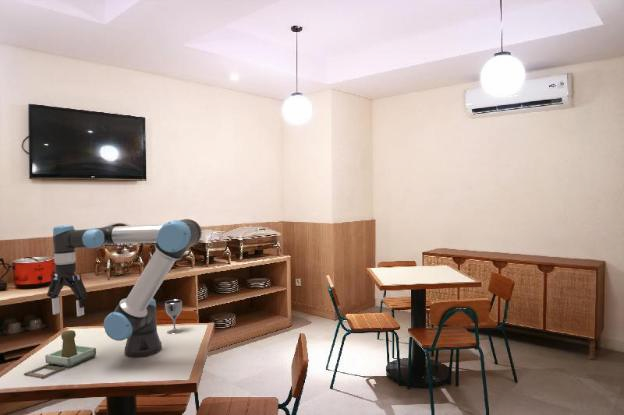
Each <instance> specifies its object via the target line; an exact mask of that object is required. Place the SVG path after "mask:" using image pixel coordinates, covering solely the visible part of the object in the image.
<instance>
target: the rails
mask: <svg viewBox="0 0 624 415" xmlns="http://www.w3.org/2000/svg"><path fill="white" fill-rule="evenodd" d="M95 357H96V355H95V356H92V357H90V358H88V359H85V360H83V361H81V362H78V363H76V364H74V365H71V366H62V367H60V366H54V365H55V364H50V363H46V364H45V365H41V366H40V367H39V366H38V367H36V368H34V369H32V370H30V371H26V372H24V373H23V376H26V377H27V376H28V377H34V378H39V379H47V378H48V377H50V376H52V375H54V374H57V373H59V372H63V371H65V370H66V369H69V368H71V367H73V366H75V365H79V364H81V363H83V362H85V361H88V360H89V359H90V360H91V359H93V358H95ZM41 370H51V371H50V372H48V373H45V374H44V373H43V374H42V373H37V372H39V371H41Z"/></svg>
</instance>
